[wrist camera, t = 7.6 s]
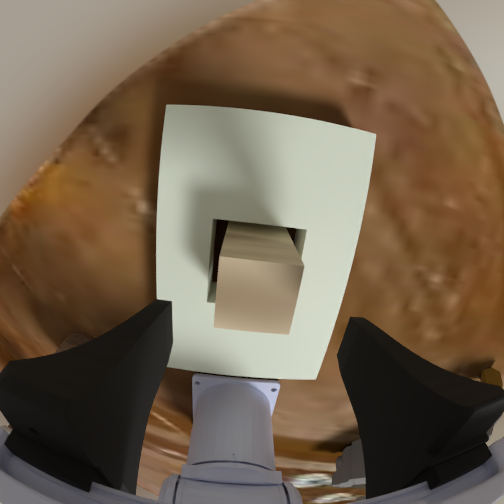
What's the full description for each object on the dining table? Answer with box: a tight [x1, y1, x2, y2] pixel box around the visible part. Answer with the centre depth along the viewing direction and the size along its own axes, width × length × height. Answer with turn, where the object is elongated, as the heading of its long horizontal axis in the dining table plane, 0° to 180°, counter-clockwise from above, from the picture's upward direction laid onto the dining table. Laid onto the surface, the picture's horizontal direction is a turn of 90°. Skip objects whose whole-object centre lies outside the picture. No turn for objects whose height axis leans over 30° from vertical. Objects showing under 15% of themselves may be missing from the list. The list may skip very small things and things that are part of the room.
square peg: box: [214, 220, 305, 335], centre depth 16 cm, size 4×4×7 cm
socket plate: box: [156, 105, 376, 379], centre depth 18 cm, size 18×12×3 cm, turn 173°
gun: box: [332, 368, 503, 488], centre depth 25 cm, size 3×25×15 cm, turn 116°
